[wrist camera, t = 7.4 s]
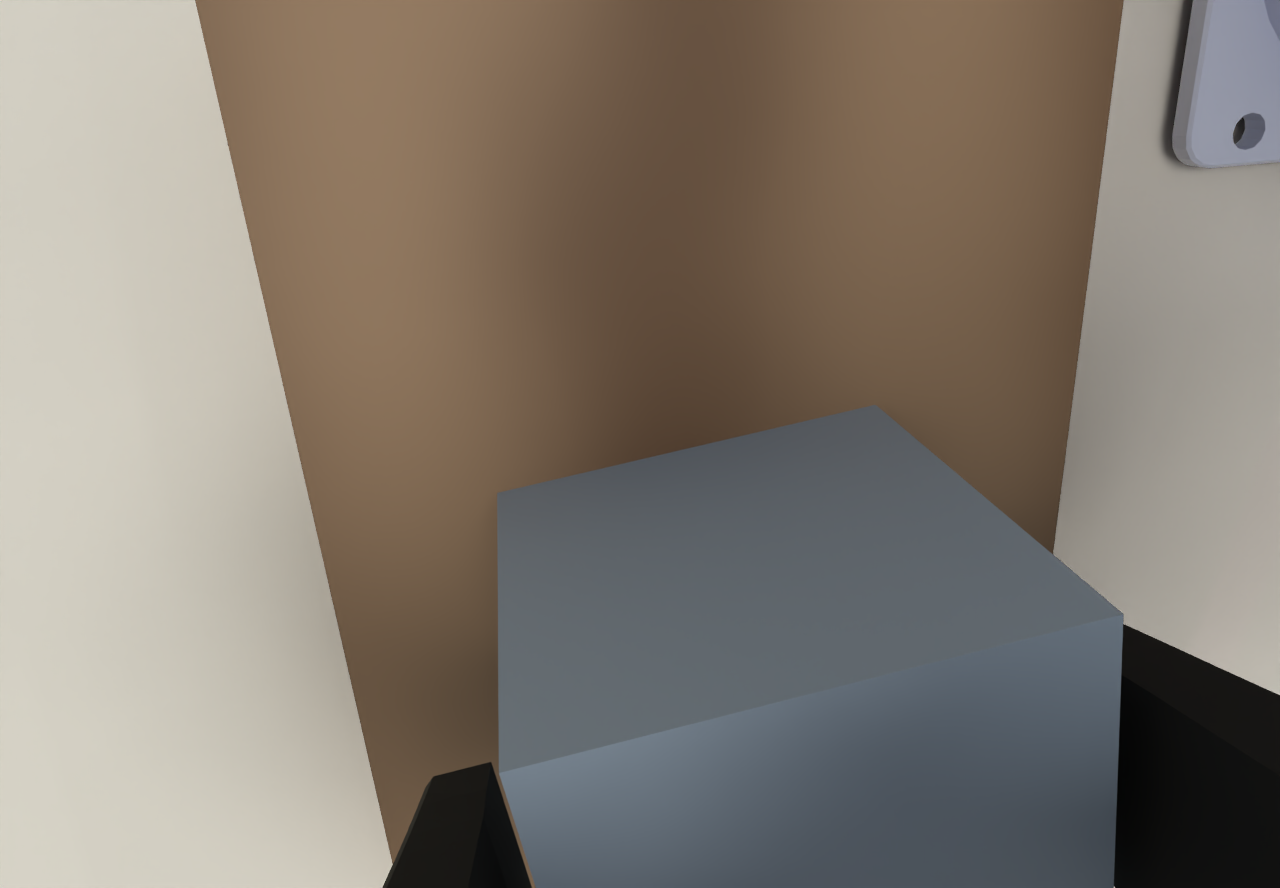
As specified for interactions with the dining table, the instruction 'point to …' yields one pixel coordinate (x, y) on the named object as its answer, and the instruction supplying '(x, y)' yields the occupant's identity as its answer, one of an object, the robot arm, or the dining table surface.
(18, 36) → the dining table surface
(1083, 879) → the block
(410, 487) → the plinth
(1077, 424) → the dining table surface
